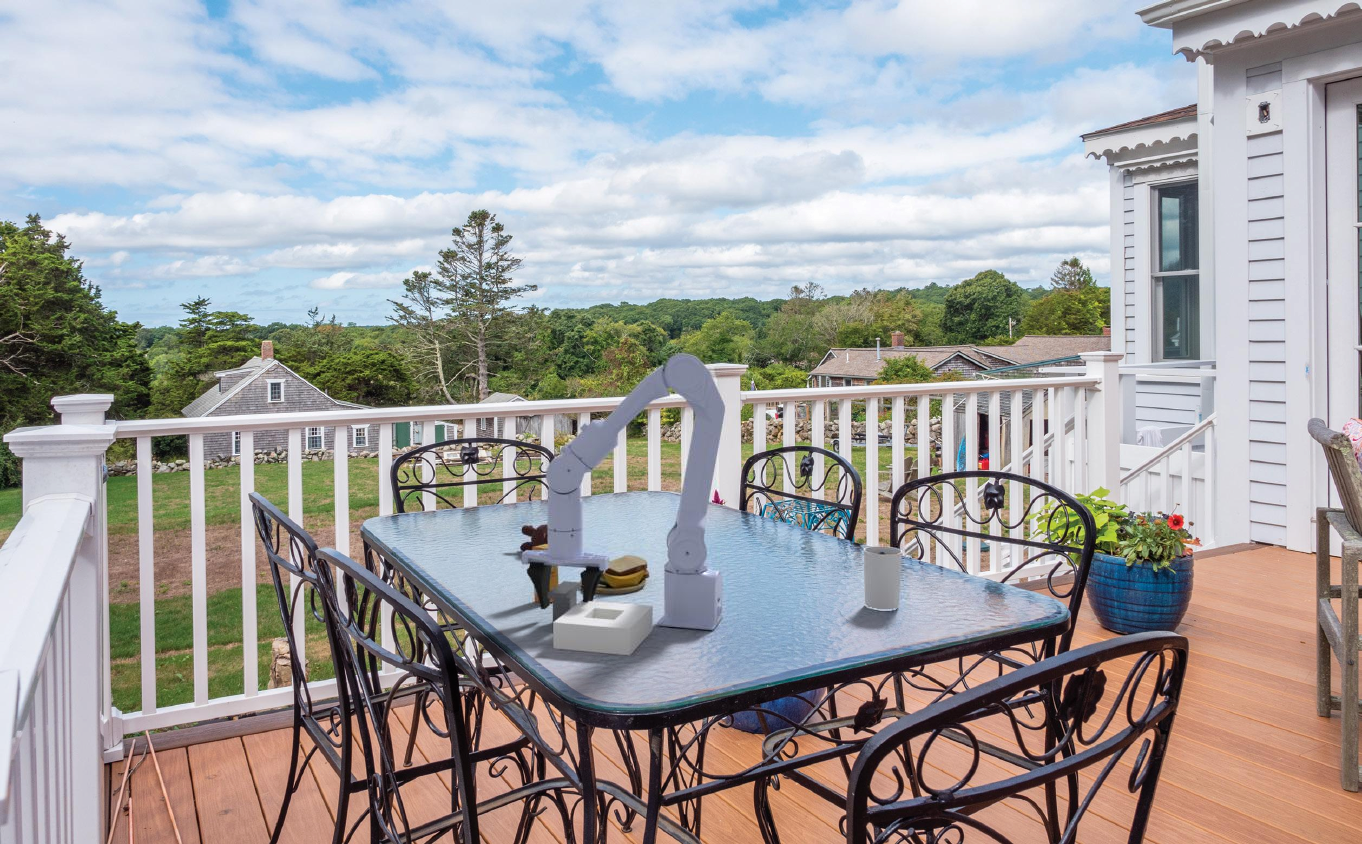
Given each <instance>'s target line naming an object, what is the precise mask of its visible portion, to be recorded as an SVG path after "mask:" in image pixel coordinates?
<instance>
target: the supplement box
mask: <svg viewBox="0 0 1362 844" xmlns="http://www.w3.org/2000/svg"><path fill="white" fill-rule="evenodd" d="M544 550H548V544H543V545H539V546H536V547H533V548H532V551H544ZM559 584H560V582H559V566H554V565H552V568H551V575H550V590H552V589H553V588H555V587H556V586H558V585H559ZM533 590H534V591H533V593H534V602H536V603H539V604H540V602H539V598H538V595H537V592H536V589H535V587H534V586H533ZM550 603H553V599H550Z"/></svg>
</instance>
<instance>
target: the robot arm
mask: <svg viewBox="0 0 1362 844" xmlns="http://www.w3.org/2000/svg"><path fill="white" fill-rule="evenodd" d="M669 389H671V390H672V391H673V392H675V393H676V394H677V395H679V396H680V397H682V398H683V399H684V400H685V402H687V404H688V405H689V406H690V408H691V409H692V411H693V412H694V414H695V417H694V422H693V428H692V433H691V439H690V442H689V443H690V444H689V449H688V455H687V460H686V461H687V462H686V466H685V472H684V477H683V483H682V489H681V495H680V500H679V506H678V509H677V512H676V518H675V522H674V525H673V526H672V527H671V529H670V530H669V532H668V533H667V537H666V547H667V559H668V561H667V562H666V563H665V564H664V566H663V568H664V571H663V572H664V575H663V577H664V579H663V580H664V583H663V584H664V585H663V586H664V587H663V589H664V590H663V591H664V592H663V593H664V594H663V596H664V600H663V601H664V602H663V603H664V607H663V608H664V609H663V611H664V614H663V615H662V616H661V617H660V618H659V619H658V621H656V626H661V627H671V628H672V627H673V628H681V629H683V628H685V629H692V630H693V629H697V630H707V631H708V630H709V631H714V630H715V628H716V627H717V626H718V624H719V623H720V621H721V620H722V618H723V617H724V614H723V574H722V572H721V571H720V570H714V569H711V568H709V563H708V562H706V560H707V557H708V556H707V555H708V549H707V545H706V542H705V533H706V523H707V512H708V507H709V502H710V495H711V490H712V485H713V479H714V476H715V475H714V473H715V469H716V463H717V462H716V461H717V457H718V453H719V446H720V440H721V434H722V430H723V423H724V420H725V419H724V418H725V413H726V405H725V403H724V400H723V398H722V396H721V393H720V392H719V388H718V387H717V385H716V382H715V380H714V378H713V376H712V373H711V370H709V368H708V367H707V366H706V365H705V364H704V363H703V362H702V361H701V360H700V359H699V358H698V357H697V356H695V355H693V354H690V353H684V352H683V353H682V352H681V353H676V354H674V355H672V356H671V357H670V358H669V359H668V360H667V361H666V363H665V365H663V364H661V365H660V366H658V367H657V368H656V369H654V370H653V371H652V372H651V373H649V374H648V375H647V376H645V377H644V378H643V379H642V380H641V381H640V382H639V384H637V385H636V386H635V388H633V389H632V390H631V391H630V393H629V394H628V395H627V396H625V398H624V399H623V400H622V401H621V402H620V403H619V404H618V405H617V407H615V409H614V410H613V411H612V412H611V413H610V414H609V415H608V416H607V417H606V418H605V419H593V420H592V421H590V422H589V423H587V422H584V424H583V425H582V426H581V427H579V429H580V433H579V434H578V435H576V436H575V438H573V439H572V440H571V441H570V442H569V443H568V445H567V446H566V445H563V446H561V448H560V449H559V451H560V452H561V453H562V454H558V455H557V456H555V457H554V458H553V459H552V460H551V461H550V463H549V465H548V466H547V468H546V473H545V479H546V482H547V485H548V490H547V496H548V500H547V507H546V508H547V511H546V512H547V524H548V550H544V551H532V550H526V551H522V553H521V564H522V565H529V567H527V569H526V573H527V575H528V577H529V579H530V581H531V583H532V584H533V588H534V587H535V589H536V592H537V595H538V598H539V602H540V603H539V602H538V603H539V605H540V610H546V609H547V608H548V607H549V606H550V604H551V602H550V599H548V592H549V591H550V575H551V568H552V565H554V566H558V567H569V568H579V569H580V568H582V569H585V570H582V571H581V572H580V573H579V575H580V581H582V585H581V589H582V600H583V602H588V601H594V597H595V594H596V593H595V591H596V588H597V586H598V583H599V581H600V579H601V577H602V575H603V573H604V572H605V570H607V569H608V568H609V561H610V556H608V555H600V554H595V553H589V552H584V542H583V541H584V534H583V533H584V530H583V529H584V527H583V526H584V523H583V522H584V519H583V518H584V516H583V514H584V512H583V511H584V506H583V503H584V502H583V501H584V500H583V499H582V483H583V481H584V480H583V479H584V476H585V474H586V473H591V472H593V471H594V470H595V468H597V467H598V466H599V464H601V463H602V462H603V460H605V459H606V458H607V456H608V455H610V453H612V451H613V450H614V449H615V448H617V446H618V445H619V433H620V432H621V431H622V430H623V429H624V428H625V427H626V426H627V425H629V423H631V422H632V421H634V419H635V418H636V417H637V416H639V414H640V413H642V411H643V410H644V409H645V408H646V407H648V406H649V405H650V403H652V402H653V401H656V400H658V399H662V398H667V397H670V396H671V394H670V391H669Z"/></svg>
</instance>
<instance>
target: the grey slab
mask: <svg viewBox="0 0 1362 844" xmlns="http://www.w3.org/2000/svg"><path fill="white" fill-rule="evenodd" d="M581 589H582V585H581V582H580V581H562V582H561V583H559V585H558V586H556V587H555V588H553V589H552V590H550V591H549V592H548V599H553V602H552V623H553V622H554V621H556V620H557V619H558V618H560V617H561V616H562V615H563V614H565V613H566V612H567V611H569V610H570V609H571V608H573V607H574V606H575V605H577V604H578V603H577V600H578V599H577V598H578V597H577V595H578V594H577V592H578V591H579V590H581Z"/></svg>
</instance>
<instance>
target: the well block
mask: <svg viewBox="0 0 1362 844" xmlns="http://www.w3.org/2000/svg"><path fill="white" fill-rule="evenodd" d="M653 613H654V611H653V605H643V604H632V603H621V602H619V603H618V602H608V601H607V602H606V601H594V600H593V601H588V602H583V599H582V600H580V602H578V603H577V605H575V606H574V607H573V608H571V609H570V610H569V611H567V612H566V613H565V614H563V615H562V616H561V617H560V618H558V619H557V620H556V621H554V622H553V621H552V626H553V628H552V629H553V632H552V633H553V641H552V642H553V649H555V650H556V649H557V650H567V651H568V650H569V651H577V652H578V651H579V652H588V653H589V652H590V653H600V654H610V655H611V654H612V655H621V656H631V655H632V653H633V652H635V650H636V649H637V648H638V647H639V646H640V645H641V644H642V643H643V641H645V639H646V638H647V637H649V635H650V634H651V633H652V632H653V625H654V624H653V619H654V618H653Z"/></svg>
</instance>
